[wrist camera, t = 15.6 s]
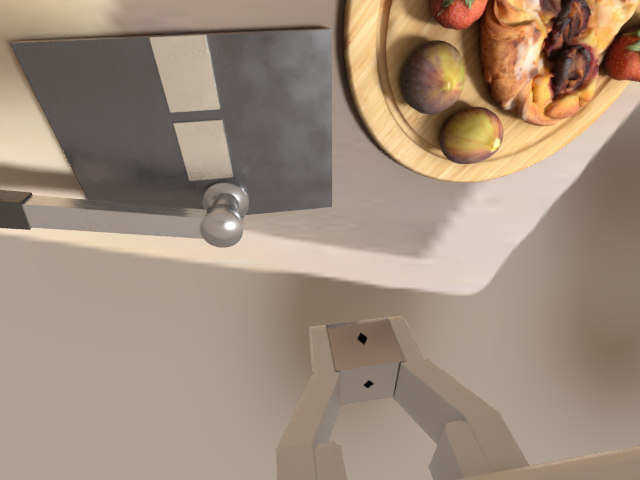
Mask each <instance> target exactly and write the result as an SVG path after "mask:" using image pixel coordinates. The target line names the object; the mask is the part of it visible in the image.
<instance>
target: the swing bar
mask: <svg viewBox="0 0 640 480" xmlns="http://www.w3.org/2000/svg"><path fill="white" fill-rule="evenodd" d="M32 227H33V228H48V229H63V230H79V231H94V232H109V233H124V234H140V235H155V236H170V237H185V238H201V239H204V240H205V241H206V242H208V243H209V244H211V245H213V246H216V247H230V246H233V245H235V244H236V243H237V242H238V241H239V240H240V239H241V237H242V234H243V217H242V214H241V213H240V212H239V210H237V209H236V208H235V207H233V206H231V205H228V204H216V205H213V206H211V207H209V208H208V209H207V210H202V209H191V208H179V207H167V206H155V205H143V204H131V203H119V202H107V201H95V200H83V199H71V198H60V197H48V196H36V195H32V193H30V192H18V191H6V190H0V228H10V229H26V230H30V229H31V228H32Z"/></svg>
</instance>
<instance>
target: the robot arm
mask: <svg viewBox="0 0 640 480" xmlns="http://www.w3.org/2000/svg"><path fill="white" fill-rule="evenodd" d="M309 332H310V348H311V358H312V368H313V374H314V375H312V376H311V378H310V380H309V382H308V384H307V386H306V389H305V390H304V392H303V394H302V397H301V399H300V401H299V403H298V405H297V407H296V409H295V411H294V413H293V415H292V418H291V419H290V422H289V424H288V426H287V428H286V430H285V432H284V434H283V436H282V439H281V441H280V442H279V445H278V447H277V449H276V462H277V480H347V478H346V472H345V467H344V461H343V456H342V451H341V446H340V445H338V444H337V443H336V442H329V439H330V436H331V433H332V430H333V427H334V425H335V422H336V419H337V416H338V412H339V410H340V405H346V404H350V403H356V402H362V401H368V400H375V399H383V398H391V397H394V399H395V400H396V402H398V404H399V405H400V406H401V407H402V408H403V409H404V410H405V411H406V412H407V413H408V414H409V415H410V416H411V417H412V419H413V420H414V421H415V422H416V423H417V424H418V425H419V426H420V427H421V428H422V429H423V430H424V431H425V432H426V433H427V434H428V435H429V437H430V438H431V439H432V440H433V441H434V442H435V443H436V444H437V448H436V450H435V453H434V455H433V458H432V460H431V462H430V465H429V469H430V472H431V475H432V478H433V480H640V445H639V446H633V447H628V448H623V449H617V450H612V451H606V452H601V453H595V454H590V455H585V456H579V457H574V458H569V459H563V460H557V461H552V462H547V463H542V464H536V465H530V466H529V464H528V462H527V460H526V459H525V457H524V455H523V454H522V452H521V450H520V448H519V446H518V445H517V443H516V441H515V439H514V438H513V436H512V434H511V432H510V431H509V429H508V427H507V425H506V424H505V422H504V420H503V418H502V417H501V415H500V413H499V412H498V411H496V410H495V409H494V408H492V407H491V406H490V405H488V404H487V403H486V402H484V401H483V400H482V399H480V398H479V397H478V396H476V395H475V394H474V393H473V392H471V391H470V390H469V389H467V388H466V387H465V386H463V385H462V384H461V383H459V382H458V381H457V380H456V379H454V378H453V377H452V376H450V375H449V374H448V373H446V372H445V371H444V370H442V369H441V368H440V367H439V366H437V365H436V364H435V363H433V362H432V361H431V360H429V359H423V357H422V355H421V353H420V351H419V348H418V346H417V344H416V342H415V339H414V337H413V335H412V333H411V330H410V328H409V326H408V324H407V322H406V319H405V317H404V316H402V315H399V316H391V317H381V318H375V319H368V320H361V321H356V322H350V323H341V324H332V325H326V326H325V325H323V326H314V327H310V328H309ZM328 442H329V443H328Z"/></svg>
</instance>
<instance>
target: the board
mask: <svg viewBox="0 0 640 480" xmlns="http://www.w3.org/2000/svg"><path fill="white" fill-rule="evenodd" d="M10 44H11V46H12V48H13V50H14V52H15V54H16V56H17V58H18V60H19V62H20V64H21V66H22V68H23V70H24V72H25V74H26V76H27V78H28V80H29V82H30V84H31V86H32V88H33V90H34V92H35V94H36V96H37V98H38V100H39V102H40V104H41V106H42V108H43V110H44V112H45V114H46V116H47V118H48V120H49V122H50V124H51V126H52V128H53V130H54V133H55V135H56V137H57V139H58V141H59V143H60V145H61V147H62V149H63V151H64V153H65V155H66V157H67V159H68V161H69V163H70V165H71V167H72V169H73V171H74V173H75V175H76V177H77V179H78V181H79V183H80V185H81V187H82V189H83V191H84V193H85V195H86V197H87V199H88V200H95V201H107V202H119V203H131V204H143V205H155V206H167V207H179V208H191V209H202V210H207V209H208V208H209V207H211V206H213V205H216V204H228V205H231V206H233V207H235V208H236V209H237V210H239V212H240V213H241V214H242V217H244V216H245V215H251V214H261V213H272V212H282V211H293V210H303V209H313V208H324V207H332V68H331V29H329V28H315V29H291V30H267V31H243V32H219V33H195V34H171V35H148V36H124V37H100V38H76V39H52V40H28V41H18V42H13V43H10Z"/></svg>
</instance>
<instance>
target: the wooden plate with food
mask: <svg viewBox="0 0 640 480" xmlns="http://www.w3.org/2000/svg"><path fill="white" fill-rule="evenodd" d="M343 49H344V61H345V67H346V74H347V79H348V84H349V88H350V92H351V96H352V99H353V102H354V105H355V107H356V110H357V112H358V114H359V116H360V118H361V120H362V122H363V123H364V125H365V127H366V129H367V131H368V132H369V133H370V135H371V136H372V138H373V139H374V140H375V142H376V143H377V144H378V145H379V146H380V147H381V148H382V149H383V151H384V152H385V153H387V154H388V155H389V156H390V157H391V158H392V159H394V160H395V161H397V162H398V163H400V164H401V165H403V166H404V167H406V168H407V169H409V170H411V171H413V172H415V173H417V174H420V175H423V176H426V177H430V178H433V179H437V180H442V181H448V182H479V181H485V180H491V179H494V178H498V177H502V176H506V175H509V174H512V173H514V172H517V171H520V170H523V169H525V168H527V167H529V166H531V165H534V164H536V163H538V162H540V161H541V160H543V159H545V158H547V157H548V156H550V155H552V154H553V153H555V152H557V151H558V150H560V149H561V148H563V147H564V146H566V145H567V144H568V143H570V142H571V141H572V140H574V139H575V138H576V137H577V136H579V135H580V134H581V133H582V132H583V131H585V130H586V129H587V128H588V127H589V126H590V125H591V124H592V123H593V122H595V121H596V120H597V119H598V118H599V117H600V116H601V115H602V114H603V113H604V112H605V111H606V110H607V109H608V107H609V106H610V105H611V104H612V103H613V102H614V101H615V100H616V99H617V98H618V96H619V95H620V94H621V93H622V91H623V90H624V89H625V88H626V86H627V85H628V84H629V83H630V81H639V82H640V0H346V6H345V14H344V30H343Z"/></svg>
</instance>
